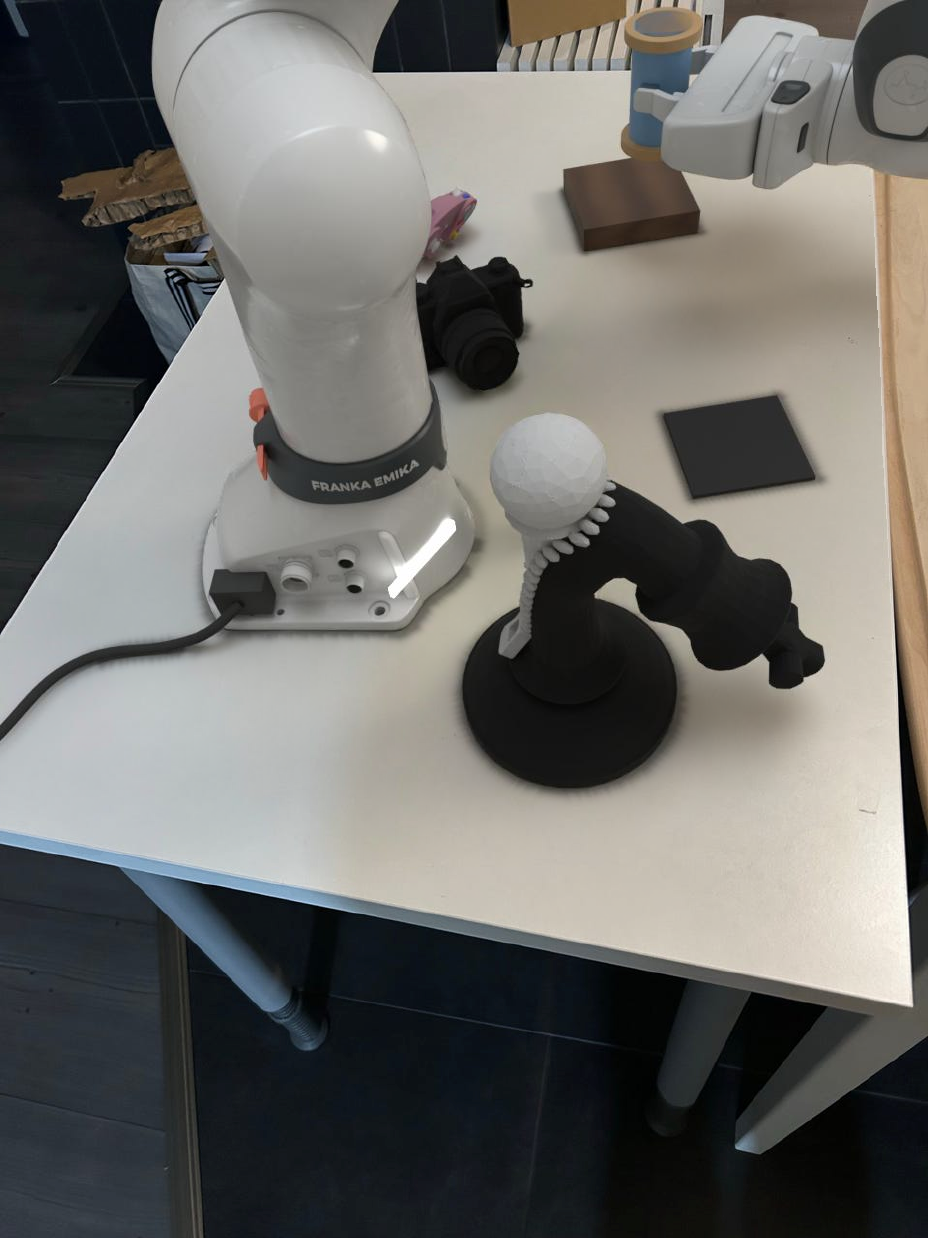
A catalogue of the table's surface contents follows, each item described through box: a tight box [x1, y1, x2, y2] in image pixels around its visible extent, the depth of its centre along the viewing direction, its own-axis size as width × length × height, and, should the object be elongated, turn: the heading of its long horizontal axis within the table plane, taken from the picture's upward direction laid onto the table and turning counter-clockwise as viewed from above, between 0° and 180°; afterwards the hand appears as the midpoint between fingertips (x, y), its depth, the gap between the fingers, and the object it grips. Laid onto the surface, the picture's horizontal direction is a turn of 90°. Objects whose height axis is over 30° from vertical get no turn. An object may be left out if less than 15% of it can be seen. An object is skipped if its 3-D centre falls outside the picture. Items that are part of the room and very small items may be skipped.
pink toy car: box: [422, 186, 478, 260], centre depth 97 cm, size 10×5×7 cm, turn 143°
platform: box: [562, 157, 701, 252], centre depth 98 cm, size 12×12×2 cm
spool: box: [620, 6, 704, 162], centre depth 80 cm, size 6×6×10 cm
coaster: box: [662, 394, 817, 500], centre depth 77 cm, size 10×10×1 cm
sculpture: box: [461, 412, 826, 789], centre depth 55 cm, size 15×24×25 cm, turn 82°
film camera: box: [416, 254, 534, 392], centre depth 84 cm, size 15×10×9 cm, turn 112°
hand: (650, 79), depth 80 cm, fingers closed on spool, 5 cm apart
